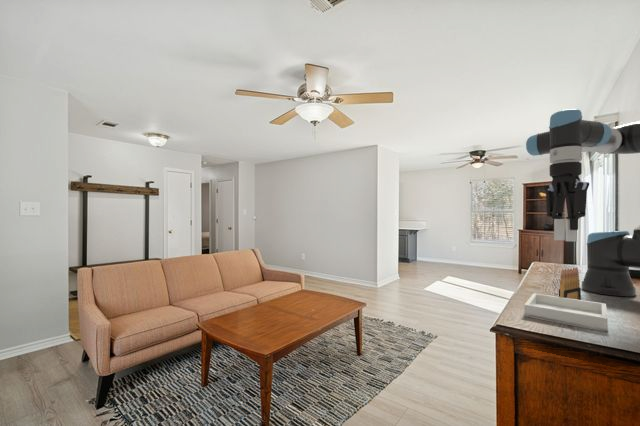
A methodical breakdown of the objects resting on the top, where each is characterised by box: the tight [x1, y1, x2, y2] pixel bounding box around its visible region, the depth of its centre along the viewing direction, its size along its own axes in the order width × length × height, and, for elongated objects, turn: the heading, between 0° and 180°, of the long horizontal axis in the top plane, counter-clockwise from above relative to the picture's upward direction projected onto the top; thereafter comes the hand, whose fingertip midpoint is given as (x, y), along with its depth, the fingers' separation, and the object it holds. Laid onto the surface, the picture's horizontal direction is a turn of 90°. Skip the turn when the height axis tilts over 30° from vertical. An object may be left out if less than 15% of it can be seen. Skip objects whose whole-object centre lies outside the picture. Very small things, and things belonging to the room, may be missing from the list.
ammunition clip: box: [558, 267, 582, 300], centre depth 104 cm, size 11×2×12 cm, turn 116°
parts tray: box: [523, 292, 609, 333], centre depth 91 cm, size 18×18×4 cm
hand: (565, 240), depth 91 cm, fingers open, 3 cm apart
